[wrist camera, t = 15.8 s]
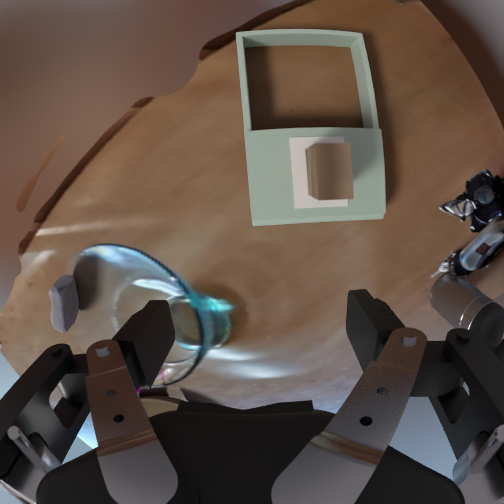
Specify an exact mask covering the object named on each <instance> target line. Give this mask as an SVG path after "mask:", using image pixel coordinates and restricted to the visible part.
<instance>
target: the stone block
mask: <svg viewBox="0 0 504 504" xmlns="http://www.w3.org/2000/svg"><path fill="white" fill-rule="evenodd" d="M49 296H50V298H51V304H52V310H51V322H52V325H53V327H54V328H55V329H56V330H58V331H59V332H67V331H68V329H69V328H70V327H71V326H72V325H73V324H74V323H75V320H76V317H77V314H78V309H79V301H78V293H77V290H76V283H75V279H74V277H73V276H72V275H63V276H62V277H60V278H59V279H58V280H57V281H56V283H54V285H53V287H52V288H51V289H50V291H49Z"/></svg>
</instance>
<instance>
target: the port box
mask: <svg viewBox="0 0 504 504" xmlns="http://www.w3.org/2000/svg"><path fill="white" fill-rule="evenodd" d="M236 40H237V51H238V62H239V74H240V85H241V96H242V107H243V119H244V130H245V132H244V135H245V146H246V158H247V169H248V181H249V193H250V204H251V216H252V223H253V226H262V225H276V224H292V223H308V222H326V221H345V220H367V219H383V214H386V195H385V169H384V154H383V142H382V131H381V129H379V125H378V117H377V109H376V102H375V96H374V89H373V83H372V78H371V72H370V67H369V62H368V57H367V53H366V48H365V44H364V40H363V36H362V33H356V32H347V31H335V30H318V29H275V30H257V31H246V32H236ZM279 45H321V46H339V47H350V48H351V53H352V57H353V63H354V68H355V73H356V79H357V85H358V91H359V98H360V105H361V113H362V121H363V128H337V127H320V128H286V129H269V130H256V131H252V122H251V111H250V100H249V89H248V79H247V68H246V58H245V48H248V47H261V46H279ZM315 143H350V145H351V157H352V172H353V192H354V199H343V200H317V199H315V198H313V197H311V196H309V195H308V182H307V168H306V155H305V149H307V148H309V147H310V146H312V145H313V144H315Z"/></svg>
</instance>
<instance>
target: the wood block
mask: <svg viewBox="0 0 504 504" xmlns="http://www.w3.org/2000/svg"><path fill="white" fill-rule="evenodd" d="M305 155H306V168H307V182H308V195H309V196H311V197H313V198H315V199H317V200H343V199H354V192H353V172H352V157H351V145H350V143H315V144H313V145H312V146H310V147H309V148H307V149H305Z"/></svg>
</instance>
